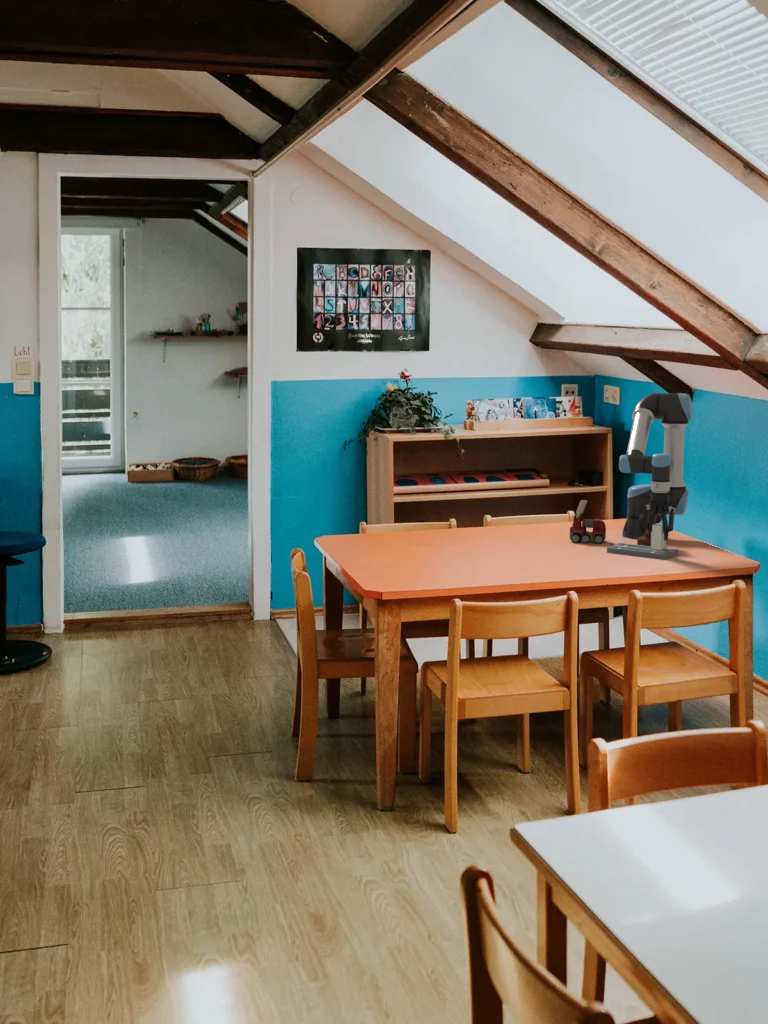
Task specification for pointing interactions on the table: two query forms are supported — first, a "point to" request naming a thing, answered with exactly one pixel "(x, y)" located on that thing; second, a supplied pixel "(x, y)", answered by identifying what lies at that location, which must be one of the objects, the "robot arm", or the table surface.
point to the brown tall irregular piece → (645, 539)
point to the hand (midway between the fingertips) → (658, 547)
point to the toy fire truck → (580, 532)
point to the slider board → (641, 551)
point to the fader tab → (657, 537)
